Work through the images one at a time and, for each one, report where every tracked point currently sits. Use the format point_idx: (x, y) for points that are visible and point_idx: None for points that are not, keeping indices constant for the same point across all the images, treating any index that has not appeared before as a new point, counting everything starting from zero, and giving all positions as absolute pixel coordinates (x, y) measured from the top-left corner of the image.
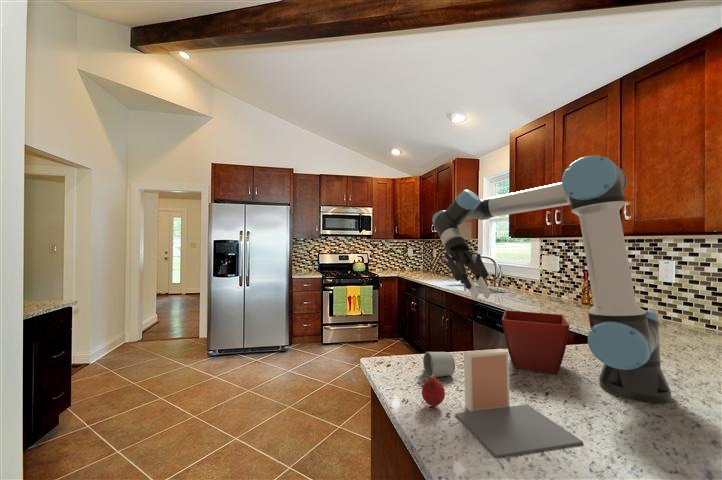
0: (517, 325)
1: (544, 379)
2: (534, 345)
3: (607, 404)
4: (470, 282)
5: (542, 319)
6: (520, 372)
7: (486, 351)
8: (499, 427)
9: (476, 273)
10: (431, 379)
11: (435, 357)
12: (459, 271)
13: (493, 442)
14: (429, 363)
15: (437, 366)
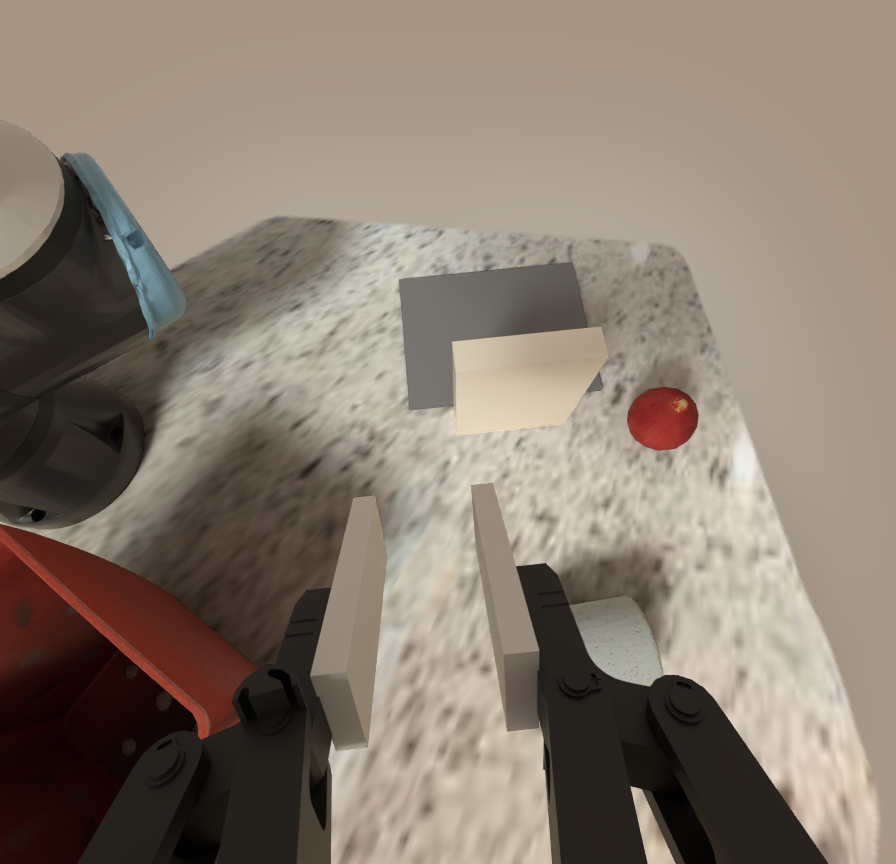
0: (170, 662)
1: (238, 562)
2: (167, 618)
3: (213, 399)
4: (521, 587)
5: None
6: (271, 634)
7: (526, 351)
8: (527, 329)
9: (313, 856)
10: (685, 398)
11: (628, 619)
12: (702, 785)
13: (561, 290)
14: None
15: (613, 598)
